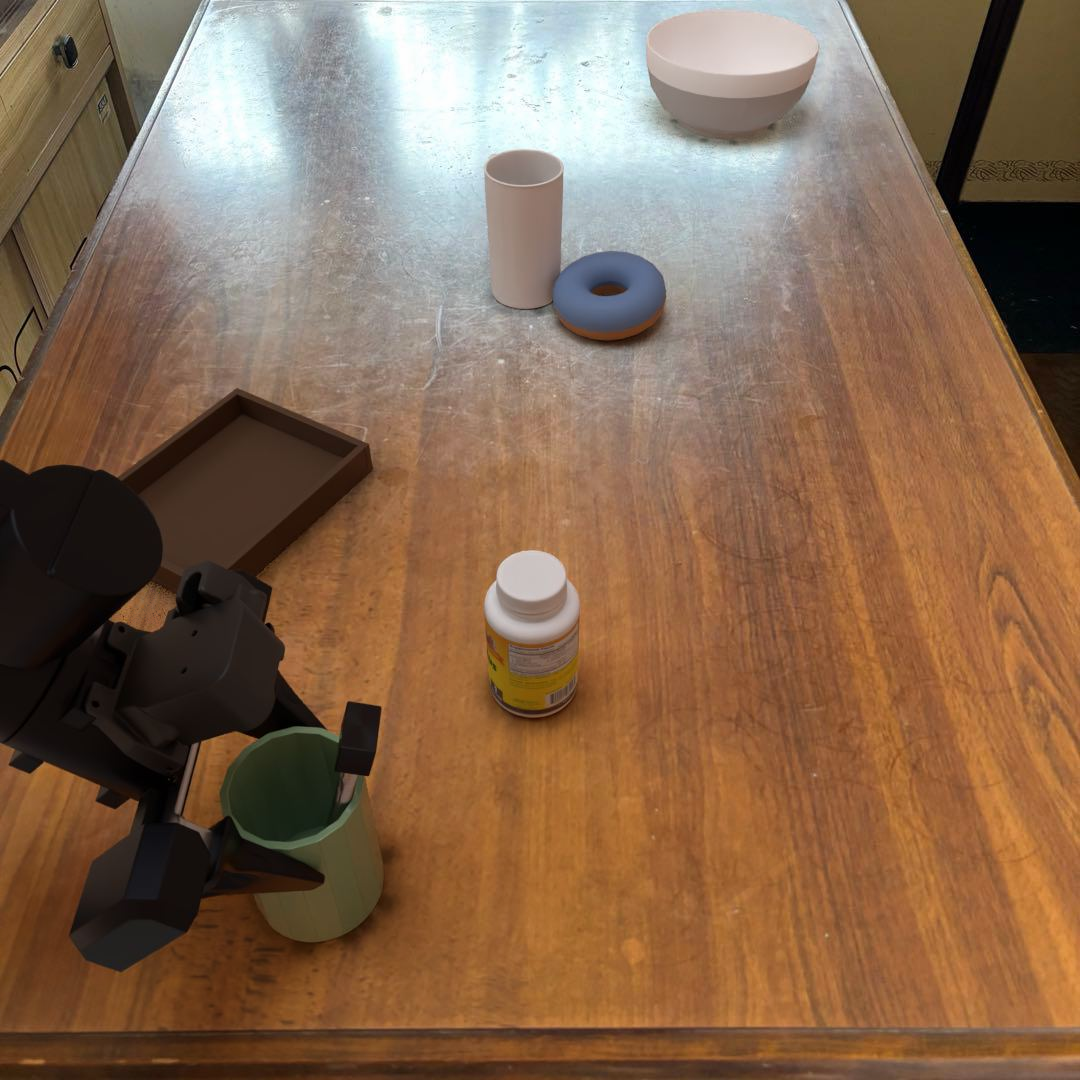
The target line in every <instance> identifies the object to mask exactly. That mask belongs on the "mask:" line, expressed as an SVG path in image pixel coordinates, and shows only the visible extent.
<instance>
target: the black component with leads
mask: <svg viewBox="0 0 1080 1080" xmlns="http://www.w3.org/2000/svg"><path fill="white" fill-rule="evenodd" d="M382 709H383V708H382V705H376V704H370V703H363V702H358V701H351V700H348V701H347V702H346V705H345V709H344V713H343V716H342V721H341V724H340V729H339V730H340V731H339V736H340V737H339V743H338V750H337V757H336V763H335V772H340V774H339V778H338V781H337V785H336V789H335V793H334V797H333V801H332V804H331V808H330V812H329V816H328V820H327V824H326V827H325V828H327V827H328V826H330V825H331V824H333V823H334V822H335V821H337V820H338V819H339V818H340V816H341V815H342V813H343V812H344V811H345V809H346V808H347V806H348V805H349V804H350V801H351V797H352V794H353V790H354V787H355V783H356V780H357V776H358V775H361V776H365V777H369V776H370V775H371V771H372V769H373V765H374V761H375V758H376V755H377V749H378V741H379V734H380V733H379V732H380V725H381V716H382Z"/></svg>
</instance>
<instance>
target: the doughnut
mask: <svg viewBox="0 0 1080 1080" xmlns="http://www.w3.org/2000/svg"><path fill="white" fill-rule="evenodd" d="M552 302H553V307H554V312H555V314H556V316H557V318H558V319H559V320H560V321H561V323H562V325H563V326H564V328H565V327H566V328H567V329H568V330H570V331H571V332H573V333H574V334H576V335H578V336H582V337H584V338H588V339H591V340H597V341H616V340H624V339H627V338H630V337H633V336H636V335H639V334H640V333H641V332H643V331H645V330H647V329H648V328H650V327H652V326H653V325H654V324H655V322H656V321H657V320H658V319H659V318H660V316H661V315H662V314H663V311H664V309H665V306H666V302H667V289H666V284H665V280H664V276H663V274H662V272H661V271H660V270H659V269H658V267H656V264H654V263H653V262H651V261H649V260H648V259H646V258H644V257H643V256H641V255H638V254H635V253H631V252H628V251H617V250H608V251H607V250H605V251H600V252H599V251H598V252H593V253H591V254H587V255H584V256H581V257H580V258H577V259H575V260H574V261H573V262H571V263H569V264H568V265H566V267H565V268H564V269H563V270H562V271H560V274H559V276H558V278H557V280H556V283H555V285H554V288H553V301H552Z"/></svg>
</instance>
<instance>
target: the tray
mask: <svg viewBox="0 0 1080 1080" xmlns="http://www.w3.org/2000/svg"><path fill="white" fill-rule="evenodd" d="M371 453H372V452H371V447H370V443H368V442H366V441H363V440H360V439H359V438H356V437H354V436H352V435H349V434H347V433H344V432H342V431H340V430H337V429H335V428H332V427H330V426H328V425H327V424H324V423H323V424H322V423H321V422H319V421H316V420H314V419H311V418H309V417H306V416H304V415H302V414H300V413H297V412H295V411H292V410H290V409H288V408H286V407H284V406H281V405H278V404H276V403H273V402H271V401H269V400H267V399H264V398H262V397H260V396H257V395H255V394H253V393H250V392H248V391H246V390H243V389H241V388H238V387H236V388H235V389H234V390H232V391H231V392H228V394H226V395H225V396H224V397H222V399H220V400H219V401H217V402H216V403H214V405H212V406H210V407H209V408H208V409H207V410H205V411H204V412H203V413H201V414H200V415H199V416H197V417H196V418H195V419H193V420H192V421H190V422H189V423H188V424H186V425H185V426H184V427H182V428H181V429H180V430H178V431H177V432H176V433H174V435H173V434H172V436H170V437H169V438H168V439H167V440H165V441H164V442H162V443H161V444H159V446H157V447H156V448H155V449H153V450H151V451H150V452H149V453H148V454H146V455H145V456H143V457H142V458H141V459H140V460H138V461H137V462H136V463H134V464H132V466H130V467H129V468H128V469H126V470H125V471H123V472H122V473H120V475H118V476H116V477H117V478H118V479H120V480H121V481H122V482H124V483H125V484H126V485H128V486H129V487H131V488H132V489H133V490H134V491H135V492H136V493H137V494H138V495H139V497H140V498H141V499H142V500H143V501H144V502H145V503H146V505H147V506H148V508H149V509H150V511H151V512H152V514H153V515H154V517H155V520H156V522H157V524H158V527H159V529H160V532H161V538H162V543H163V553H162V562H161V565H160V568H159V570H158V572H157V573H156V574H155V576H154V577H153V578H152V580H151V581H150V582H153V583H154V584H156V585H158V586H160V587H162V588H163V589H165V590H168V591H170V592H172V593H174V594H175V595H176V594H177V591H178V588H179V585H180V582H181V578H182V575H183V572H184V570H185V569H186V568H188V567H191V566H194V565H196V564H199V563H202V562H204V561H207V560H209V561H211V562H213V563H215V564H217V565H219V566H222V567H224V568H226V569H228V570H243V571H245V572H247V573H249V574H250V575H252V576H254V577H256V576H257V575H258V574H259V573H260V572H261V571H262V570H264V569H265V568H266V567H267V566H268V565H269V564H270V563H271V562H273V560H274V559H276V557H278V556H279V555H280V554H282V552H283V551H285V550H286V548H287V547H289V546H290V545H291V544H292V543H293V542H294V541H296V539H298V538H299V537H300V536H301V535H302V534H303V533H304V532H305V531H306V530H307V529H309V528H310V527H311V526H313V524H314V523H315V522H316V521H317V520H318V519H319V518H321V517H322V516H323V515H324V514H325V513H326V512H327V511H328V510H329V509H331V508H332V507H333V506H334V505H335V504H337V502H338V501H339V500H341V499H342V498H343V497H344V496H345V495H346V494H347V493H348V492H349V491H351V490H352V489H353V488H354V487H355V486H356V485H357V484H358V483H359V482H360V481H361V480H363V479H364V478H365V477H366V476H367V475H368V474H369V473H370V472H372V471H373V469H374V467H373V461H372V454H371Z"/></svg>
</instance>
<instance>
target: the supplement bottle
mask: <svg viewBox="0 0 1080 1080" xmlns="http://www.w3.org/2000/svg"><path fill="white" fill-rule="evenodd" d="M567 577H568V575H567V569H566V568H565V566H564V564H563V563H562V562H561V560H560V559H558V558H557V557H556V556H554V555H553V554H551V553H549V552H545V551H541V550H535V549H534V550H533V549H531V550H529V549H528V550H522V551H518V552H515V553H513V554H510V555H509V556H507V557H506V558H505V559H504V560H503V561H502V562H501V563H500V564H499V566H498V568H497V571H496V579H495V581H494V582H493V583H492V584H491V585H490V586H489V588H488V590H487V592H486V594H485V597H484V602H483V603H484V605H483V607H484V608H483V611H484V623H485V624H484V625H485V627H484V628H485V640H486V654H487V669H488V670H487V671H488V682H489V688H490V692H491V693H492V696H493V698H494V699H495V701H496V702H497V703H498V704H499V705H500V706H501V707H502V708H503V709H504V710H506V711H508V712H509V713H511V714H513V715H516V716H519V717H524V718H533V719H535V718H542V717H543V718H544V717H547V716H551V715H554V714H555V713H558V712H559V711H561V710H562V709H564V708H565V707H567V705H568V704H569V703H570V702H571V701H572V699H573V698H574V696H575V694H576V691H577V688H578V683H579V662H580V661H579V660H580V658H579V657H580V621H581V600H580V595H579V593H578V591H577V589H576V587H575V585H574V584H573V583H572V582H571V581H570V580H569V579H568V578H567Z"/></svg>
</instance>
